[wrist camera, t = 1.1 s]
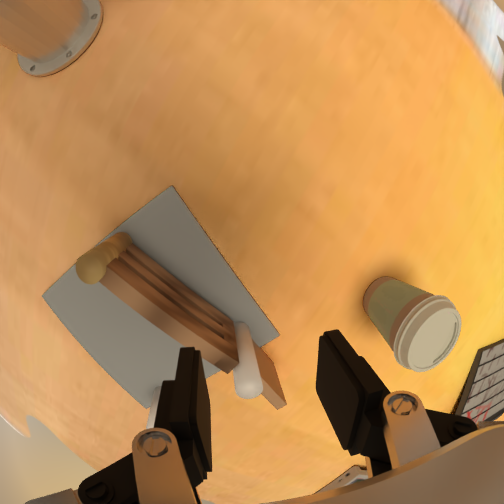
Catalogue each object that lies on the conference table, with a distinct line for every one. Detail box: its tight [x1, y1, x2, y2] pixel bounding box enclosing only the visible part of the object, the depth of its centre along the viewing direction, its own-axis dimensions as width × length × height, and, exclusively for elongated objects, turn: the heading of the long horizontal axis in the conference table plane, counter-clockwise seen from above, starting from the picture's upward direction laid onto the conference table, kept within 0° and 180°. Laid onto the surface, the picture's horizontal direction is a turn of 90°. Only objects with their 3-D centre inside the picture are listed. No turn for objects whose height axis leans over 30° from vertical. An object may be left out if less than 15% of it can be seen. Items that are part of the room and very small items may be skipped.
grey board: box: [42, 185, 287, 429], centre depth 27 cm, size 24×22×11 cm
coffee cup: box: [363, 277, 461, 372], centre depth 30 cm, size 8×8×12 cm
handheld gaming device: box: [315, 466, 368, 494], centre depth 47 cm, size 9×15×4 cm, turn 146°
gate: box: [76, 232, 239, 374], centre depth 26 cm, size 16×2×9 cm, turn 49°
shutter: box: [455, 339, 504, 424], centre depth 48 cm, size 32×7×31 cm
